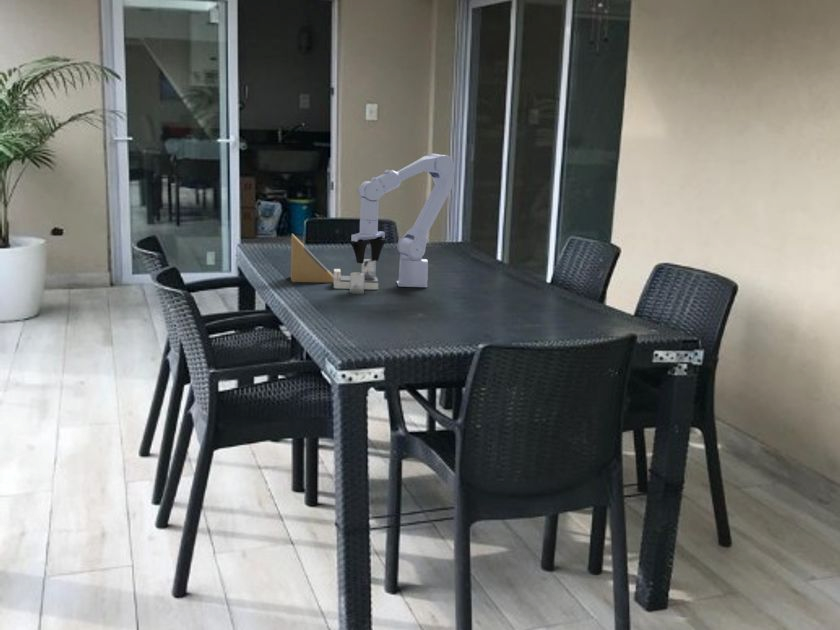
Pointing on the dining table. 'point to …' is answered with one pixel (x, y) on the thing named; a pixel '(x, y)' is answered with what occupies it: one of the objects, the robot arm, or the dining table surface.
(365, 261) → the steel weight
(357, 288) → the cylinder
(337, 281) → the grey boxy piece
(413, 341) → the dining table surface
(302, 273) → the sandwich container
